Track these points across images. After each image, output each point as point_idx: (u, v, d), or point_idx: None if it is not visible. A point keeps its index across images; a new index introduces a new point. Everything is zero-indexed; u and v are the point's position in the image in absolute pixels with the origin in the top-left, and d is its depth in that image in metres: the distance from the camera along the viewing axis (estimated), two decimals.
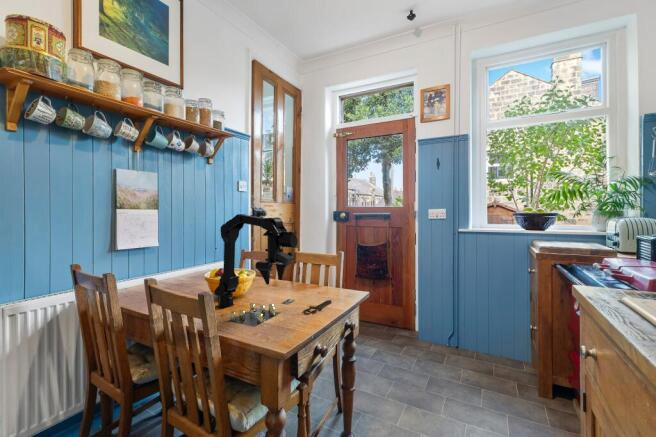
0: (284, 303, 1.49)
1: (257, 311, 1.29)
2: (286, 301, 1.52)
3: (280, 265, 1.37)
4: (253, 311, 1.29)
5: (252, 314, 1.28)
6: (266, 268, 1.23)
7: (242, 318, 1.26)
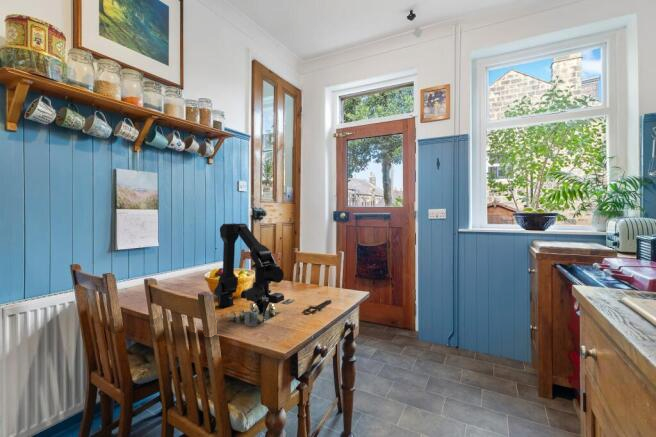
0: (284, 303, 1.49)
1: (257, 311, 1.29)
2: (286, 301, 1.52)
3: None
4: (253, 311, 1.29)
5: (252, 314, 1.28)
6: None
7: (242, 318, 1.26)
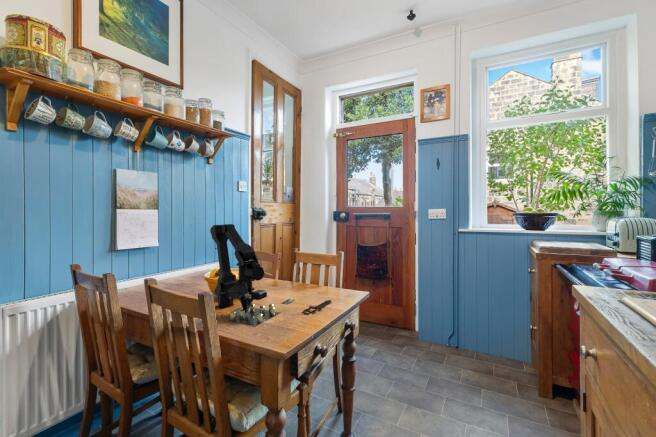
0: (284, 303, 1.49)
1: (240, 308, 1.33)
2: (286, 301, 1.52)
3: None
4: (236, 309, 1.33)
5: (236, 312, 1.31)
6: (225, 293, 1.33)
7: (242, 318, 1.26)
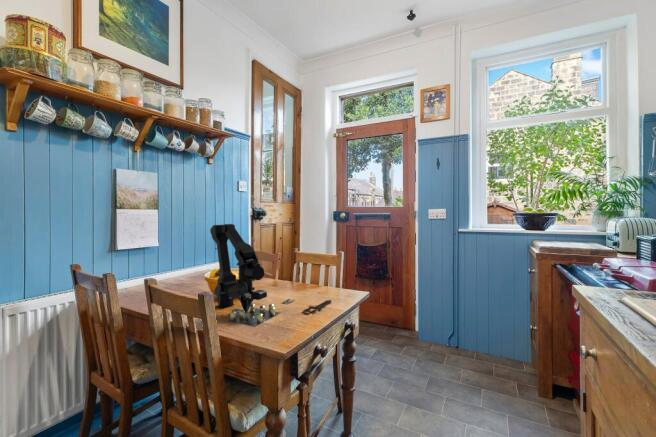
0: (284, 303, 1.49)
1: (239, 310, 1.33)
2: (286, 301, 1.52)
3: None
4: (235, 310, 1.33)
5: None
6: (225, 293, 1.33)
7: (242, 318, 1.26)
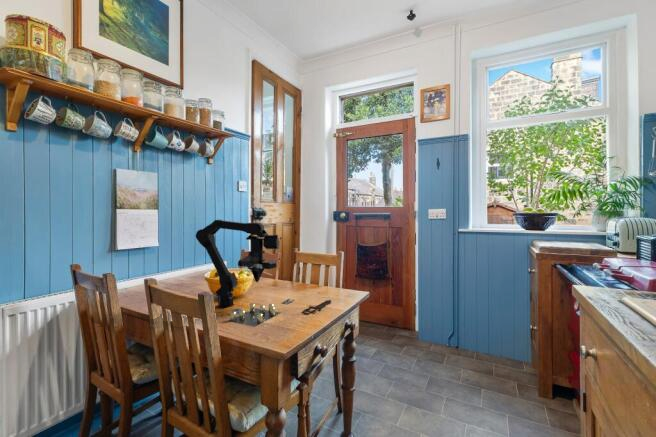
0: (284, 303, 1.49)
1: (239, 310, 1.33)
2: (286, 301, 1.52)
3: None
4: (235, 310, 1.33)
5: None
6: (238, 264, 1.45)
7: (242, 318, 1.26)
